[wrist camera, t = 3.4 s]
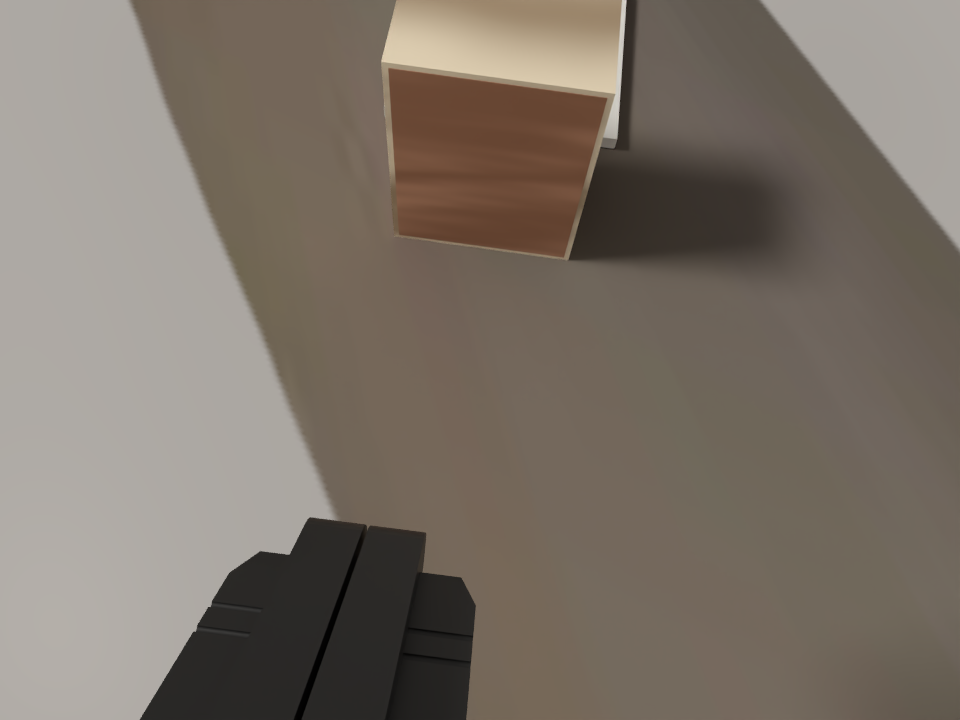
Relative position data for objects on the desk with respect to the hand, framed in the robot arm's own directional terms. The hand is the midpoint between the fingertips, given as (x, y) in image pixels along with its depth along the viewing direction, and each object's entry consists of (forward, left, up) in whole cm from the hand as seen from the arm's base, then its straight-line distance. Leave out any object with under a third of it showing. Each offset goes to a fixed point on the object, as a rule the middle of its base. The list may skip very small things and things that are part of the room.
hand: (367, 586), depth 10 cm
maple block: (+11, -15, -16) cm, 24 cm away
